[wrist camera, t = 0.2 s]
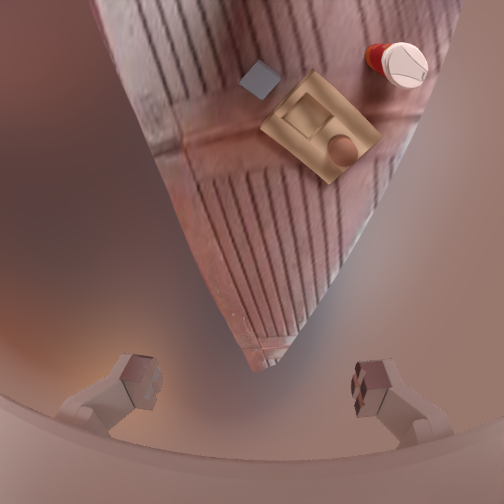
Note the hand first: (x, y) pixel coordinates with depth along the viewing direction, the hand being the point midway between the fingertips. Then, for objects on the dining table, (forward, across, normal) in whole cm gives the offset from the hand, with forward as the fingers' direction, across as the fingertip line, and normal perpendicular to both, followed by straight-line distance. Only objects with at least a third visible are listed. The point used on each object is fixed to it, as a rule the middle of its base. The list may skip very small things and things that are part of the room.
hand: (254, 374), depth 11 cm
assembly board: (+51, -10, -10) cm, 53 cm away
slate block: (+48, +1, -19) cm, 52 cm away
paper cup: (+46, -21, -24) cm, 56 cm away
